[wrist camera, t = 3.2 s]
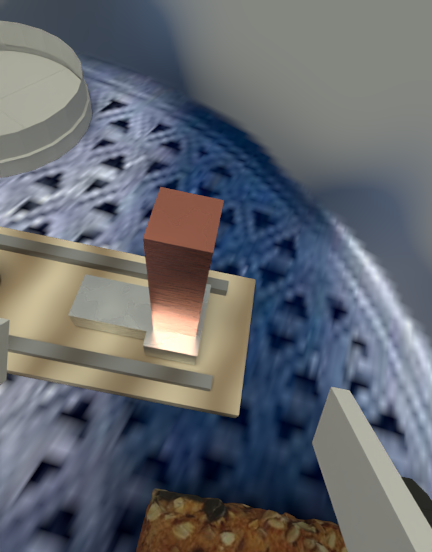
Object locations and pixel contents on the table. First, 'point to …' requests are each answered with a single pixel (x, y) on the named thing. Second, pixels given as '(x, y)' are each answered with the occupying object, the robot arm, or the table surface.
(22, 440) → the table surface
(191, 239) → the carriage
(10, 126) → the dish
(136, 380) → the board
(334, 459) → the robot arm
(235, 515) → the bread
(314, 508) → the table surface
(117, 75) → the table surface
